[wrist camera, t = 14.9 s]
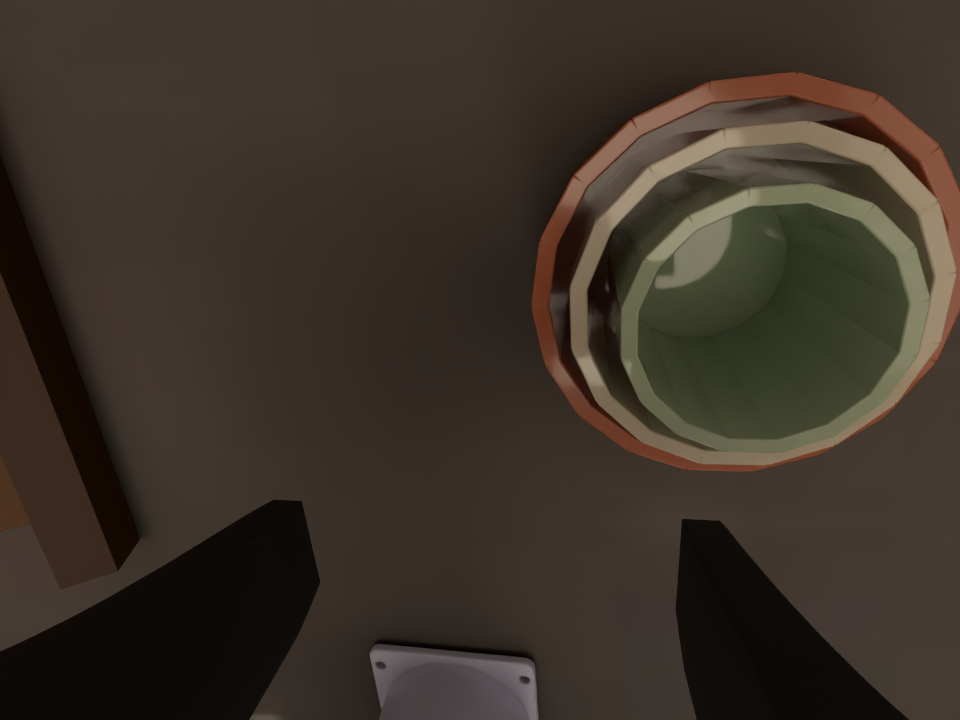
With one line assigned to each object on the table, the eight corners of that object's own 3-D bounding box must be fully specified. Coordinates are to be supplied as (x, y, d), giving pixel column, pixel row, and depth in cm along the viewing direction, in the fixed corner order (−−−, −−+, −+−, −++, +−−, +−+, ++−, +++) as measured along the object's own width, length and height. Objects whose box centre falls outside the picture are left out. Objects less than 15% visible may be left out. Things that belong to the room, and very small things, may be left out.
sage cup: (782, 341, 17) (897, 456, 11) (607, 344, 18) (619, 450, 12) (804, 160, 15) (960, 172, 9) (607, 175, 17) (622, 196, 10)
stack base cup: (838, 392, 18) (924, 476, 14) (549, 393, 20) (539, 467, 15) (891, 75, 15) (1029, 45, 10) (537, 112, 17) (520, 101, 12)
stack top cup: (808, 366, 18) (912, 469, 12) (576, 369, 19) (573, 462, 14) (844, 117, 15) (997, 102, 10) (571, 143, 17) (565, 142, 11)
